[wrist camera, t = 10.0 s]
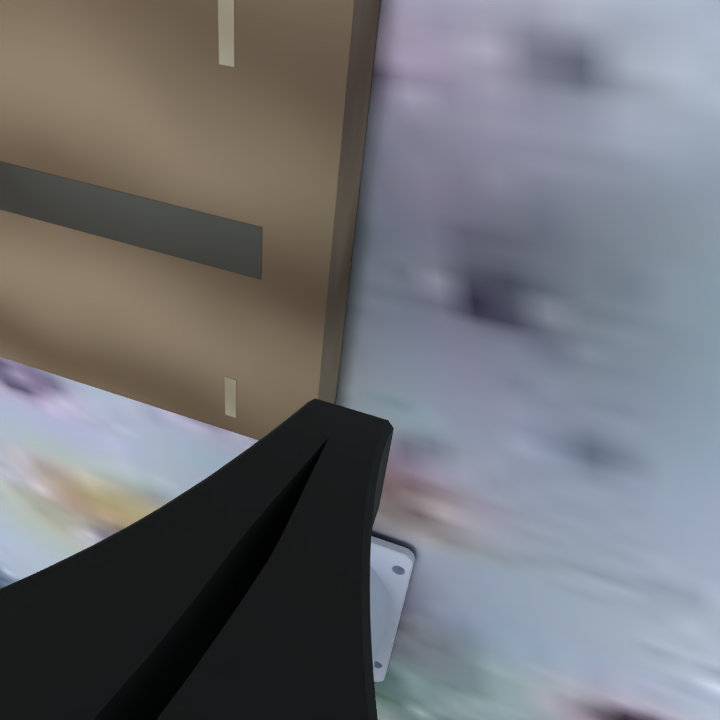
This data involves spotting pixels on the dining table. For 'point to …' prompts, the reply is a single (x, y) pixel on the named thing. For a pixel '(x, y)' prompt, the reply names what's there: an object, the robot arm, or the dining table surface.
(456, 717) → the dining table surface
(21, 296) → the console board
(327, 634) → the robot arm
